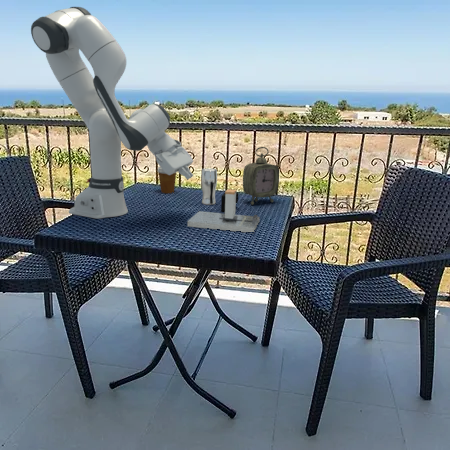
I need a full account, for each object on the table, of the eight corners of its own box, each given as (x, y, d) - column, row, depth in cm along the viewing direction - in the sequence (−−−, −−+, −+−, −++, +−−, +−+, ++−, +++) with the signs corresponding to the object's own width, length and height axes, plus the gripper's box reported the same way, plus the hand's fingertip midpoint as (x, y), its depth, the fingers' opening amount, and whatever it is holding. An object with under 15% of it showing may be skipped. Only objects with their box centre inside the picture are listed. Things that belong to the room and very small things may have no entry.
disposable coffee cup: (155, 193, 187) (154, 168, 184) (161, 189, 196) (161, 165, 193) (174, 194, 186) (173, 169, 182) (179, 190, 195) (179, 166, 191)
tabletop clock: (250, 206, 169) (253, 148, 162) (239, 201, 177) (242, 146, 169) (277, 203, 176) (281, 147, 169) (265, 198, 184) (268, 145, 176)
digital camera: (234, 213, 158) (234, 196, 156) (221, 212, 159) (221, 195, 157) (238, 207, 168) (238, 191, 166) (225, 206, 169) (226, 190, 167)
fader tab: (222, 219, 141) (222, 191, 138) (224, 216, 145) (225, 189, 142) (235, 220, 140) (236, 192, 137) (237, 217, 144) (238, 190, 141)
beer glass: (216, 205, 169) (217, 171, 165) (200, 204, 169) (200, 170, 165) (216, 201, 176) (217, 168, 171) (201, 200, 176) (201, 168, 172)
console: (187, 226, 140) (187, 215, 139) (199, 216, 153) (199, 206, 152) (253, 233, 135) (253, 222, 133) (259, 221, 148) (260, 211, 146)
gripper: (158, 146, 129) (186, 177, 130) (180, 140, 148) (205, 167, 149) (146, 159, 132) (174, 189, 133) (170, 151, 151) (194, 178, 151)
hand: (190, 177), depth 141 cm, fingers closed
